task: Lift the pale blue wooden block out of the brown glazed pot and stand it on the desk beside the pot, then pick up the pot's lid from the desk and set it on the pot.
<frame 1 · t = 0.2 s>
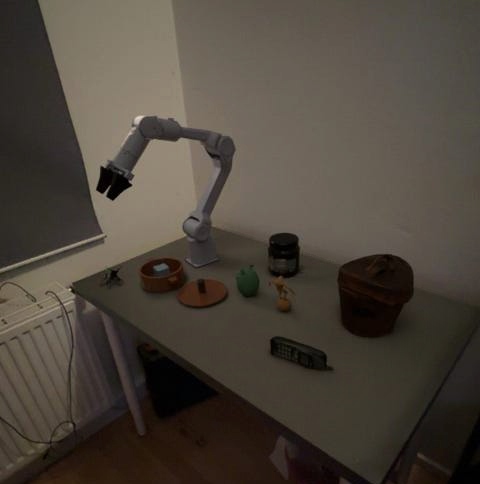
hand: (104, 195, 100), 31 cm above the table, tool tilted 45°, fingers open, 7 cm apart
block: (162, 273, 116), in the pot
mobile phone: (300, 362, 81), on the table
pot: (164, 281, 118), on the table
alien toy: (247, 294, 108), on the table
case: (367, 322, 92), on the table
creature: (113, 283, 119), on the table
supplement container: (283, 271, 119), on the table
lid: (202, 293, 109), point 1 cm above the table
figurine: (282, 312, 99), on the table
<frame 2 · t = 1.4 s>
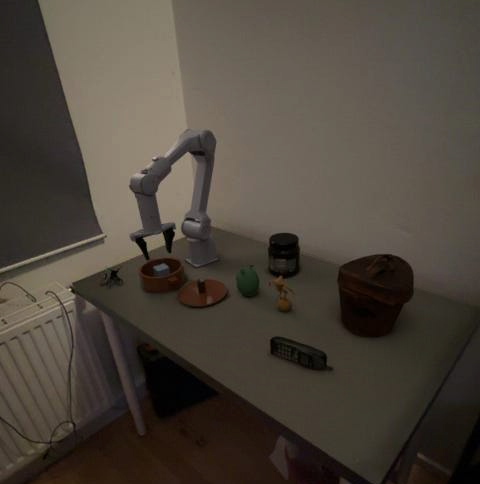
hand: (158, 255, 112), 10 cm above the table, tool pointing down, fingers open, 7 cm apart
nothing on the table moved.
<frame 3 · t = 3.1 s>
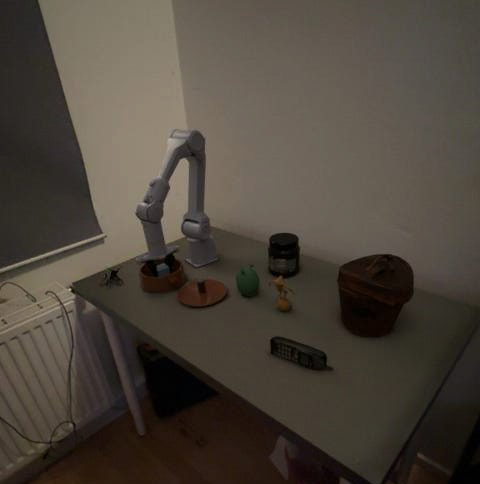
hand: (163, 277, 117), 2 cm above the table, tool pointing down, fingers closed on block, 4 cm apart
block: (162, 273, 116), in the pot, touching gripper
everything else where it was.
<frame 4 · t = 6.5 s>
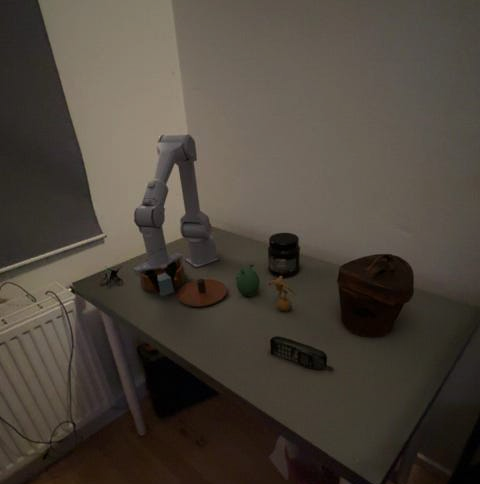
hand: (164, 288, 106), 4 cm above the table, tool pointing down, fingers closed on block, 4 cm apart
block: (163, 284, 105), point 5 cm above the table, touching gripper
everything else where it was.
when the fingers open (2 cm above the table, at t = 8.7 s): block drops 1 cm, on the table.
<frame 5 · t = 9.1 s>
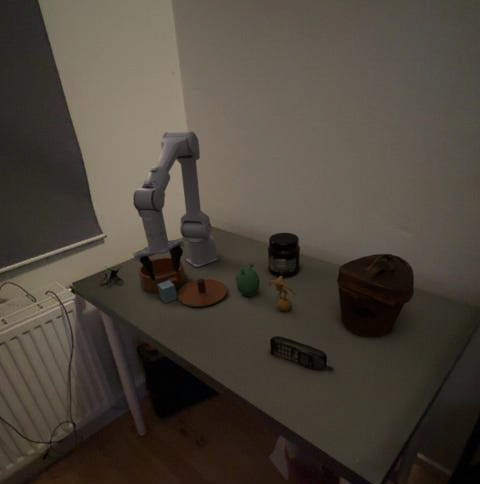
hand: (164, 274, 104), 9 cm above the table, tool pointing down, fingers open, 7 cm apart
block: (167, 291, 107), on the table
everything else where it was.
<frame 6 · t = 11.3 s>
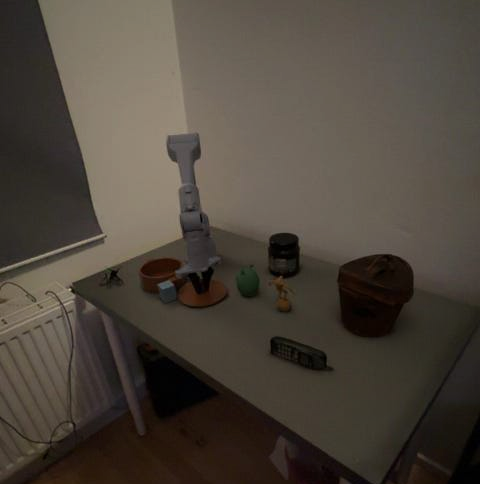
hand: (202, 290, 108), 1 cm above the table, tool pointing down, fingers closed on lid, 2 cm apart
lid: (202, 292, 109), point 1 cm above the table, touching gripper
everything else where it was.
when the fingers open (6 cm above the table, at t = 15.6 s): lid stays where it is, resting on pot.
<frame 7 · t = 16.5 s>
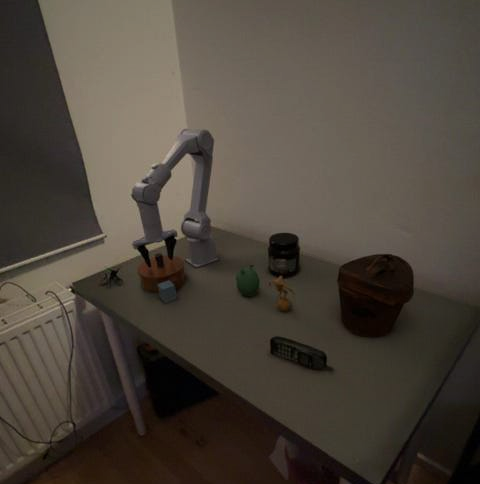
hand: (160, 262, 114), 7 cm above the table, tool pointing down, fingers open, 7 cm apart
lid: (161, 267, 115), point 5 cm above the table, touching pot
everything else where it was.
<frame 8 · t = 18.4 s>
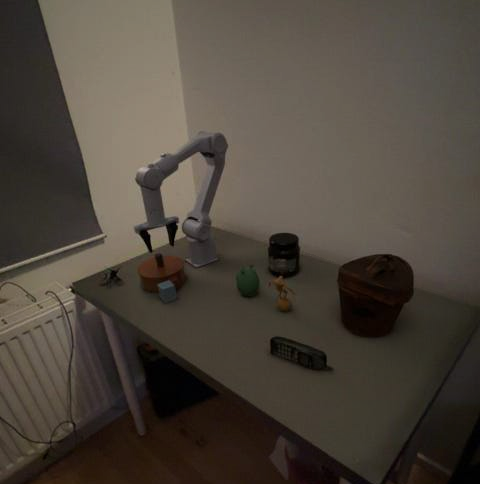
hand: (161, 248, 115), 10 cm above the table, tool pointing down, fingers open, 7 cm apart
nothing on the table moved.
at the end: block inside the target area (0.7 cm from its centre), on the table; lid 0.0 cm off-centre on the pot, point 5.5 cm above the pot's base; lid tilted 0° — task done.
